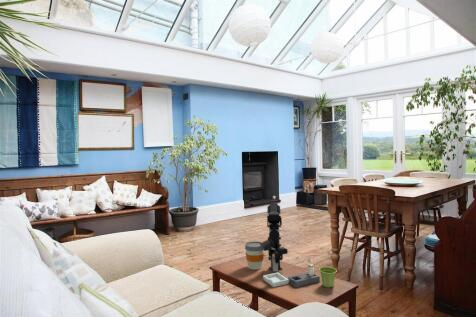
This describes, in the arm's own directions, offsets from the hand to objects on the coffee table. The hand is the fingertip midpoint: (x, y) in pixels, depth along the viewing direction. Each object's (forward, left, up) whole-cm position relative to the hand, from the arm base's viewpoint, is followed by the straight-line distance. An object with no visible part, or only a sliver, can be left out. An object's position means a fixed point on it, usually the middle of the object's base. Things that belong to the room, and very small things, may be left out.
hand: (275, 262), depth 179 cm
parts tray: (0, 0, -11) cm, 11 cm away
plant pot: (+18, +23, -11) cm, 31 cm away
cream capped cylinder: (0, 0, -5) cm, 5 cm away
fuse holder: (+8, +14, -11) cm, 20 cm away
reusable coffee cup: (-26, 0, -11) cm, 28 cm away
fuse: (+8, +19, -11) cm, 23 cm away
